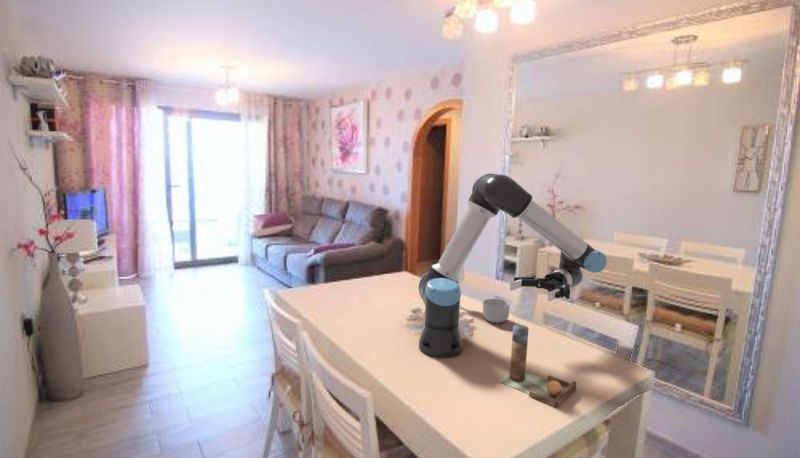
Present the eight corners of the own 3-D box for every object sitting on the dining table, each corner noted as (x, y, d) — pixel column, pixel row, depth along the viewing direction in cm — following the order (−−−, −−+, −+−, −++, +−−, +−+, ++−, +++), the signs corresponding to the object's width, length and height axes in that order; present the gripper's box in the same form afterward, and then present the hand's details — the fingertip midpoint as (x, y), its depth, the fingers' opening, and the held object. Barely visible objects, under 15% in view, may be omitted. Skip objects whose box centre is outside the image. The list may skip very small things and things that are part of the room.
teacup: (509, 326, 166) (510, 307, 165) (481, 324, 168) (482, 305, 167) (507, 314, 179) (508, 297, 178) (481, 312, 181) (482, 294, 180)
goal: (497, 382, 122) (497, 374, 122) (518, 368, 132) (518, 360, 131) (557, 408, 110) (558, 399, 110) (575, 390, 119) (576, 382, 119)
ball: (554, 394, 113) (542, 393, 116) (564, 398, 114) (552, 397, 118) (556, 379, 114) (544, 378, 118) (565, 383, 116) (553, 382, 119)
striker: (510, 381, 123) (514, 329, 121) (508, 374, 127) (512, 324, 125) (526, 382, 122) (529, 330, 120) (523, 375, 127) (527, 325, 124)
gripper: (591, 300, 144) (565, 313, 129) (525, 283, 161) (495, 293, 146) (593, 279, 143) (568, 289, 128) (527, 264, 160) (497, 272, 145)
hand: (529, 291), depth 137 cm, fingers open, 13 cm apart
